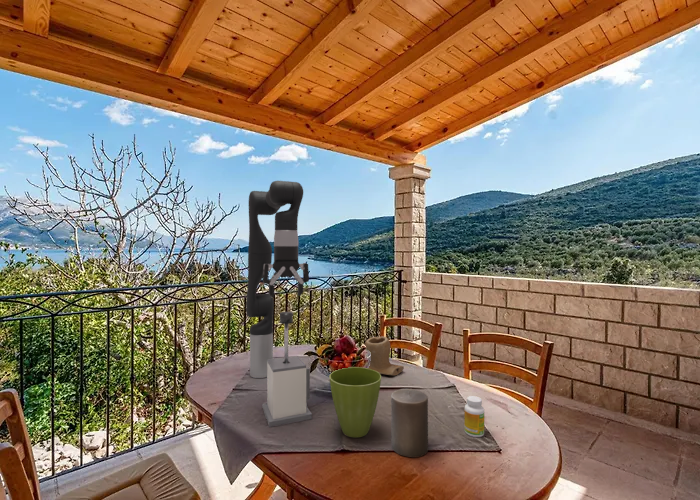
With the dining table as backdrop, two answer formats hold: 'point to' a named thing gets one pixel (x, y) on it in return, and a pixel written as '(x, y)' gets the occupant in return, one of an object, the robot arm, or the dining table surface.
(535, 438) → the dining table surface
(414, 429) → the pillar candle
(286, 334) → the plunger
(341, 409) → the flower pot
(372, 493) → the dining table surface
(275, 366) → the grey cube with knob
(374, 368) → the tan boot
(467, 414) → the supplement bottle
